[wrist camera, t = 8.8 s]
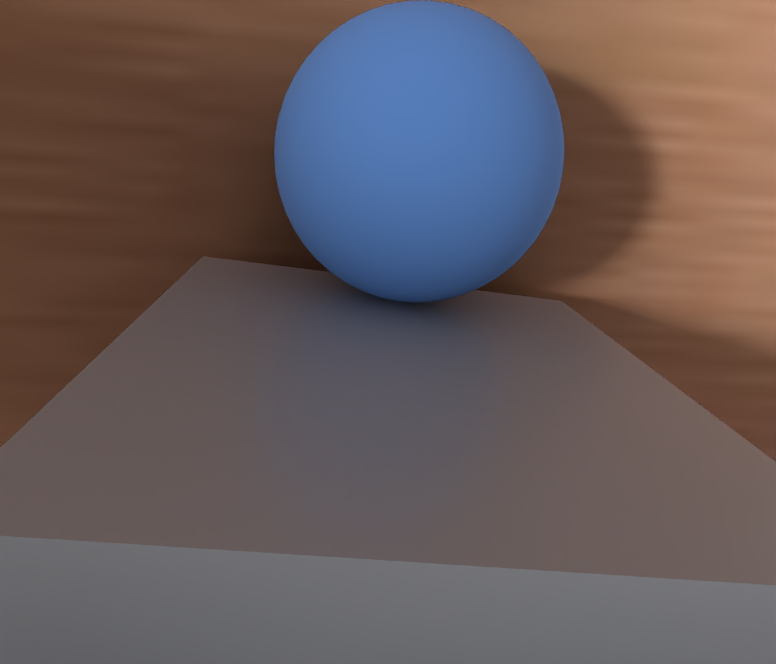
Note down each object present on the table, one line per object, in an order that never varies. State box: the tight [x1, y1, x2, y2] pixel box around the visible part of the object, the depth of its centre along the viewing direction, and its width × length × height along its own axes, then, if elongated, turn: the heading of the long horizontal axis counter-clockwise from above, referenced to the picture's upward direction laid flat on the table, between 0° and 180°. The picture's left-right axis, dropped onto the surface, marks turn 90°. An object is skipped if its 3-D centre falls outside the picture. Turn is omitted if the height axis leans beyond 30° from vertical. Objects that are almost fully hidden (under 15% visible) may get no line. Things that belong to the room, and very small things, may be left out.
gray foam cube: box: [0, 256, 776, 664], centre depth 10 cm, size 8×8×9 cm
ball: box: [274, 0, 564, 303], centre depth 11 cm, size 5×5×5 cm
